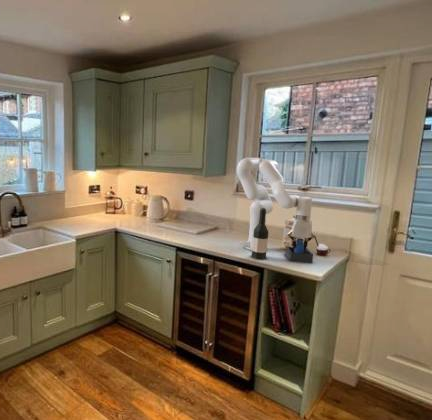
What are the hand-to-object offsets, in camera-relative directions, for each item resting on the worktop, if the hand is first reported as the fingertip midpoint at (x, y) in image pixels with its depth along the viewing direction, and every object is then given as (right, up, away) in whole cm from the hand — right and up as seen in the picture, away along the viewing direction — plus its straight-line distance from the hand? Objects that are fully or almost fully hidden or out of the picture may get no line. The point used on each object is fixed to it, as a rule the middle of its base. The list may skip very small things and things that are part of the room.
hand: (299, 247), depth 214 cm
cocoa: (+19, -6, +10) cm, 22 cm away
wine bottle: (-24, -6, +2) cm, 25 cm away
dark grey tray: (0, -7, +1) cm, 7 cm away
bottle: (0, -7, +1) cm, 7 cm away
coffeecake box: (+8, -3, +23) cm, 24 cm away
